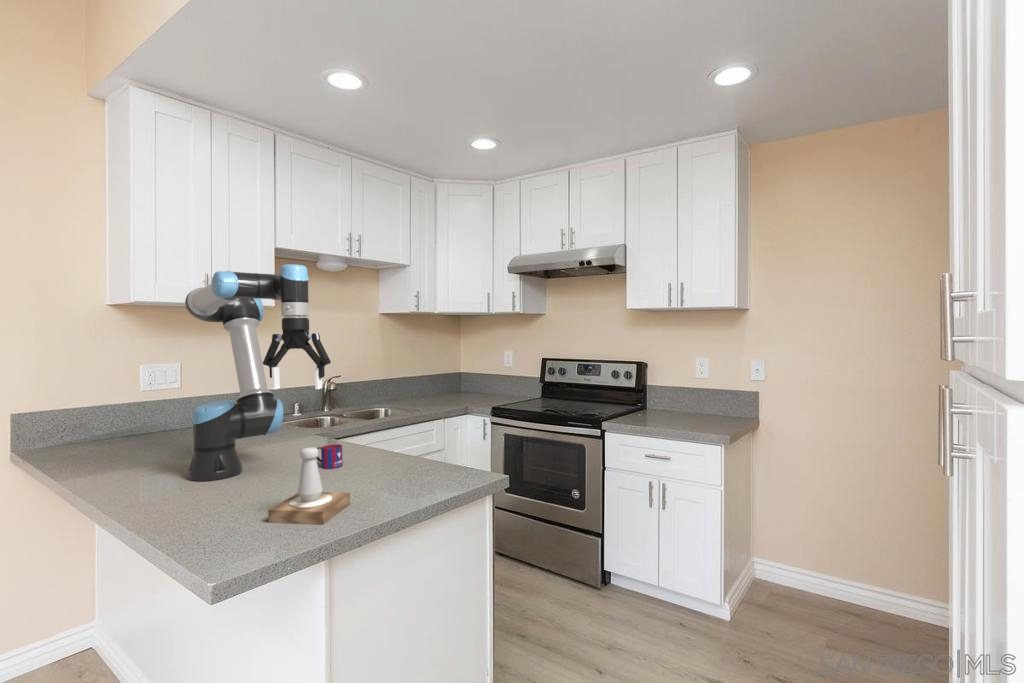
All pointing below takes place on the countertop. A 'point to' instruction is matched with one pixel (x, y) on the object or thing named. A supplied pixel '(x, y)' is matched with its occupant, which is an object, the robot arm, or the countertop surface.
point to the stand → (309, 509)
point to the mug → (331, 456)
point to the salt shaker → (309, 476)
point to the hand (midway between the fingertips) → (297, 388)
